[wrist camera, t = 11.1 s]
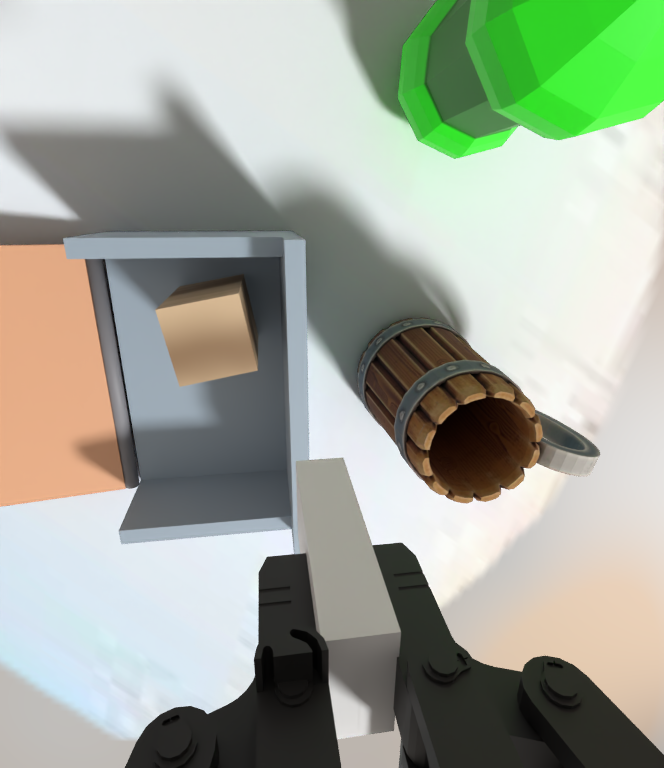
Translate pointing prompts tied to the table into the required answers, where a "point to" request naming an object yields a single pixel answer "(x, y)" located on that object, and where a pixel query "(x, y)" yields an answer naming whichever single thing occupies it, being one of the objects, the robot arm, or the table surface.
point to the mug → (460, 414)
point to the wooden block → (210, 330)
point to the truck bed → (210, 384)
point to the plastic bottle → (529, 69)
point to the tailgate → (59, 380)
